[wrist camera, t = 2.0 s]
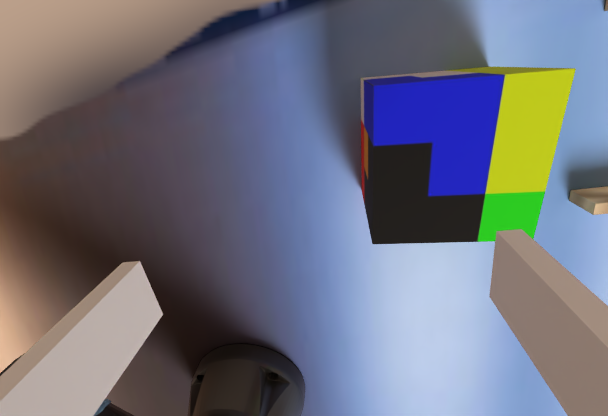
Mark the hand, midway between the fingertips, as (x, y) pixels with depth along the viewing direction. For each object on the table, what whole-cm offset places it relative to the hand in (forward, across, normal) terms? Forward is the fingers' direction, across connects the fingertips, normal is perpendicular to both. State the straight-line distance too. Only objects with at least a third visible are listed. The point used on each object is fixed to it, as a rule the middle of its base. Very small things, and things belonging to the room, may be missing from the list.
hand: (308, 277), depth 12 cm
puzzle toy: (+19, +8, 0) cm, 21 cm away
